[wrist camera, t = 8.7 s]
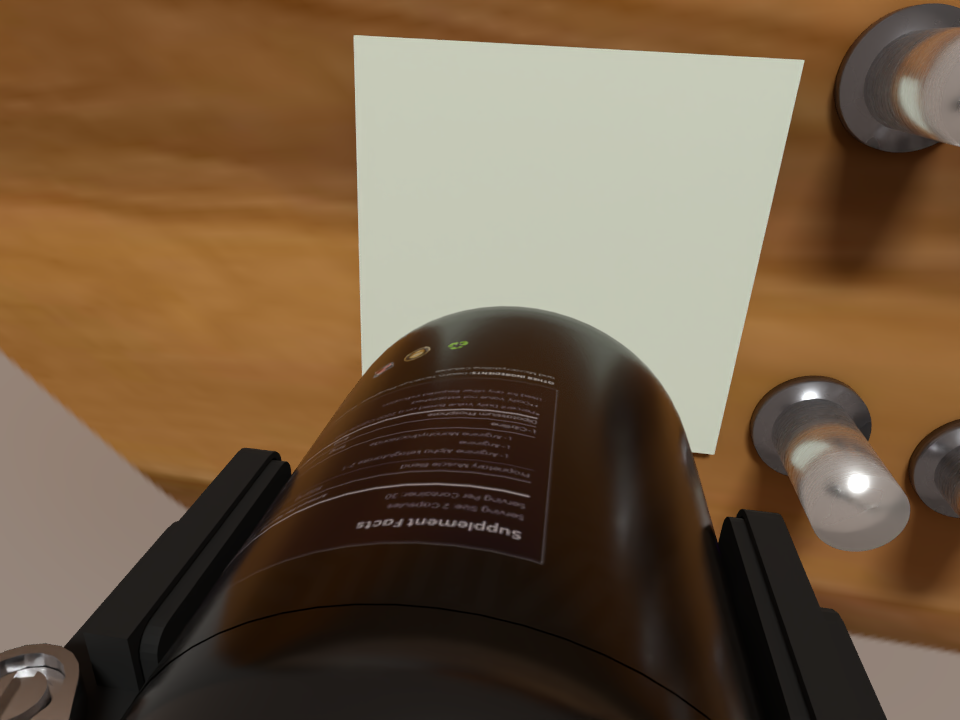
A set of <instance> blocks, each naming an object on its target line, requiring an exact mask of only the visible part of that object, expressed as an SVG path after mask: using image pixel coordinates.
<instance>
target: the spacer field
mask: <svg viewBox="0 0 960 720" xmlns="http://www.w3.org/2000/svg"><path fill="white" fill-rule="evenodd" d="M834 96H835V105H836V110H837V113H838V116H839V118H840V121H841V122H842V124H843V126H844V127H845V129H846V130H847V131H848V132H849V133H850V134H851V135H852V136H853V137H854V138H855V139H857V140H858V141H860V142H861V143H863V144H866V145H868V146H870V147H873V148H876V149H879V150H883V151H888V152H910V151H915V150H920V149H923V148H926V147H929V146H932V145H934V144H936V143H938V142H944V143H947V144H951V145H955V146H959V147H960V9H959V8H957V7H954V6H950V5H946V4H922V5H915V6H909V7H905V8H902V9H899V10H896V11H894V12H891V13H889V14H887V15H885V16H884V17H882V18H880V19H879V20H877V21H876V22H874V23H873V24H871V25H870V26H869V27H868V28H867V29H866V30H864V31H863V32H862V33H861V34H860V36H859V37H858V38H857V39H856V40H855V41H854V43H853V44H852V45H851V47H850V48H849V49H848V51H847V53H846V55H845V56H844V58H843V60H842V63H841V65H840V67H839V70H838V74H837V77H836V82H835V93H834ZM750 432H751V438H752V441H753V443H754V446H755V448H756V450H757V452H758V454H759V456H760V457H761V459H762V460H763V461H764V462H765V463H766V464H767V465H768V466H769V467H771V468H772V469H774V470H775V471H777V472H779V473H782V474H784V475H787V476H789V478H790V481H791V483H792V485H793V487H794V489H795V491H796V493H797V495H798V498H799V500H800V502H801V504H802V506H803V508H804V510H805V513H806V515H807V517H808V519H809V521H810V523H811V525H812V528H813V530H814V532H815V533H816V535H817V536H818V537H819V538H820V539H821V540H822V541H823V542H825V543H826V544H828V545H829V546H832V547H834V548H837V549H840V550H845V551H866V550H871V549H875V548H878V547H880V546H883V545H885V544H887V543H888V542H890V541H892V540H893V539H894V538H896V537H897V536H898V535H899V534H900V533H901V532H902V530H903V529H904V528H905V526H906V524H907V522H908V520H909V516H910V504H909V501H908V498H907V496H906V495H905V493H904V492H903V490H902V489H901V487H900V486H899V485H898V483H897V482H896V480H895V479H894V478H893V476H892V475H891V473H890V472H889V471H888V469H887V468H886V466H885V465H884V464H883V462H882V461H881V459H880V458H879V457H878V455H877V454H876V452H875V451H874V450H873V448H872V447H871V445H870V444H869V443H868V440H869V437H870V434H871V417H870V413H869V411H868V409H867V407H866V405H865V404H864V402H863V401H862V399H861V398H860V397H859V396H858V394H857V393H856V392H855V391H854V390H853V389H852V388H850V387H849V386H848V385H846V384H845V383H843V382H841V381H839V380H836V379H833V378H830V377H824V376H804V377H798V378H794V379H791V380H788V381H786V382H783V383H781V384H780V385H778V386H776V387H775V388H773V389H772V390H770V391H769V392H768V393H767V394H766V395H765V396H764V397H763V398H762V399H761V400H760V402H759V403H758V404H757V406H756V408H755V410H754V412H753V415H752V418H751V423H750ZM909 479H910V482H911V485H912V487H913V488H914V490H915V491H916V493H917V494H918V495H919V497H920V498H921V500H922V501H923V502H924V503H925V504H926V505H927V506H928V507H930V508H931V509H933V510H934V511H936V512H938V513H940V514H943V515H946V516H950V517H955V518H960V419H959V420H955V421H952V422H950V423H947V424H945V425H943V426H941V427H939V428H937V429H936V430H934V431H933V432H931V433H930V434H929V435H927V436H926V437H925V438H924V439H923V440H922V441H921V442H920V444H919V445H918V446H917V448H916V449H915V451H914V452H913V455H912V457H911V459H910V463H909Z"/></svg>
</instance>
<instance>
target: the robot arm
mask: <svg viewBox="0 0 960 720" xmlns="http://www.w3.org/2000/svg"><path fill="white" fill-rule="evenodd" d="M290 477H291V468H290V465H289V463H288V462H285V461H281V457H280V455H279V453H278V452H276V451H268V450H260V449H251V448H242V449H241V450H240V451H239V452H238V453H237V454H236V455H235V456H234V457H233V458H232V460H231V461H230V462H229V463H228V464H227V465H226V467H225V468H224V469H223V470H222V471H221V472H220V474H219V475H218V476H217V477H216V478H215V479H214V481H213V482H212V483H211V484H210V485H209V486H208V488H207V489H206V490H205V491H204V492H203V493H202V494H201V496H200V497H199V498H198V499H197V500H196V501H195V503H194V504H193V505H192V506H191V507H190V508H189V510H188V511H187V512H186V513H185V514H184V515H183V517H182V518H181V519H180V520H179V521H177V522H174V523H173V524H172V525H171V526H170V527H168V528H167V529H166V531H165V532H164V533H163V534H162V535H161V536H160V537H159V539H158V540H157V541H156V542H155V543H154V544H153V546H152V547H151V548H150V549H149V550H148V551H147V553H145V555H144V556H143V557H142V558H141V559H140V560H139V562H138V563H137V564H136V565H135V566H134V567H133V568H132V570H131V571H130V572H129V573H128V574H127V575H126V576H125V578H124V579H123V580H122V581H121V582H120V583H119V584H118V586H117V587H116V588H115V589H114V590H113V592H112V593H111V594H110V595H109V596H108V597H107V598H106V599H105V601H104V602H103V603H102V604H101V605H100V606H99V608H98V609H97V610H96V611H95V612H94V613H93V614H92V616H91V617H90V618H89V619H88V620H87V621H86V622H85V624H84V625H83V626H82V627H81V628H80V629H79V630H78V632H77V633H76V634H75V635H74V636H73V637H72V638H71V640H70V641H69V642H68V643H67V644H66V645H65V646H64V647H62V646H58V645H52V644H47V643H43V644H31V645H24V646H21V647H17V648H14V649H10V650H7V651H4V652H2V653H0V720H122V718H123V717H124V715H125V714H126V712H127V711H128V709H129V708H130V706H131V704H132V703H133V701H134V699H135V698H136V696H137V694H138V693H139V691H140V690H141V689H142V687H143V686H144V684H145V683H146V681H147V680H148V678H149V677H150V676H151V674H152V673H153V671H154V670H155V668H156V667H157V666H158V664H159V663H160V661H161V660H162V658H163V657H164V656H165V654H166V653H167V651H168V650H169V649H170V647H171V646H172V644H173V643H174V641H175V640H176V639H177V637H178V636H179V634H180V633H181V631H182V630H183V629H184V627H185V626H186V624H187V623H188V621H189V620H190V619H191V617H192V616H193V614H194V613H195V612H196V610H197V609H198V607H199V606H200V604H201V603H202V602H203V600H204V599H205V597H206V596H207V594H208V593H209V592H210V590H211V589H212V587H213V586H214V585H215V583H216V582H217V580H218V579H219V577H220V576H221V575H222V573H223V572H224V570H225V569H226V568H227V566H228V565H229V563H230V562H231V560H232V559H233V558H234V556H235V555H236V553H237V552H238V550H239V549H240V548H241V546H242V545H243V543H244V542H245V541H246V539H247V538H248V536H249V535H250V533H251V532H252V531H253V529H254V528H255V526H256V525H257V523H258V522H259V521H260V519H261V518H262V516H263V515H264V514H265V512H266V511H267V509H268V508H269V506H270V505H271V504H272V502H273V501H274V499H275V498H276V497H277V495H278V494H279V492H280V491H281V489H282V488H283V487H284V485H285V484H286V482H287V481H288V479H289V478H290ZM718 546H719V549H720V553H721V556H722V560H723V563H724V567H725V571H726V574H727V578H728V581H729V585H730V588H731V592H732V596H733V599H734V603H735V606H736V610H737V613H738V617H739V620H740V624H741V628H742V631H743V635H744V638H745V642H746V645H747V649H748V652H749V656H750V660H751V663H752V667H753V670H754V674H755V677H756V681H757V684H758V688H759V692H760V695H761V699H762V702H763V706H764V709H765V713H766V717H767V720H887V718H886V716H885V714H884V712H883V710H882V707H881V705H880V703H879V701H878V698H877V696H876V694H875V692H874V689H873V687H872V685H871V683H870V680H869V678H868V676H867V674H866V671H865V669H864V667H863V665H862V662H861V660H860V658H859V656H858V653H857V651H856V649H855V647H854V645H853V642H852V640H851V638H850V636H849V633H848V631H847V629H846V627H845V624H844V622H843V621H842V619H841V617H840V615H839V614H838V613H837V612H836V611H834V610H833V609H828V608H821V607H820V606H819V604H818V601H817V599H816V597H815V594H814V592H813V589H812V587H811V585H810V582H809V580H808V577H807V575H806V573H805V570H804V568H803V565H802V563H801V561H800V558H799V556H798V553H797V551H796V549H795V546H794V544H793V541H792V539H791V537H790V534H789V532H788V529H787V527H786V525H785V522H784V520H783V518H782V516H781V515H780V514H778V513H770V512H762V511H754V510H746V509H741V510H740V511H739V512H738V514H737V516H736V518H734V517H726V518H725V520H724V522H723V526H722V530H721V534H720V538H719V542H718Z"/></svg>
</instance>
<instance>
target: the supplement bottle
mask: <svg viewBox="0 0 960 720" xmlns="http://www.w3.org/2000/svg"><path fill="white" fill-rule="evenodd" d="M122 720H767V717H766V713H765V709H764V706H763V702H762V699H761V695H760V692H759V688H758V684H757V681H756V677H755V674H754V670H753V667H752V663H751V660H750V656H749V652H748V649H747V645H746V642H745V638H744V635H743V631H742V628H741V624H740V620H739V617H738V613H737V610H736V606H735V603H734V599H733V596H732V592H731V588H730V585H729V581H728V578H727V574H726V571H725V567H724V563H723V560H722V556H721V553H720V549H719V546H718V542H717V539H716V535H715V531H714V528H713V524H712V521H711V517H710V514H709V510H708V507H707V503H706V499H705V496H704V492H703V489H702V485H701V482H700V478H699V475H698V471H697V467H696V464H695V460H694V457H693V454H692V451H691V448H690V445H689V442H688V438H687V435H686V432H685V429H684V427H683V424H682V421H681V419H680V416H679V414H678V412H677V410H676V408H675V406H674V404H673V402H672V400H671V398H670V396H669V395H668V393H667V391H666V390H665V388H664V387H663V385H662V384H661V382H660V381H659V380H658V379H657V377H656V376H655V375H654V374H653V372H652V371H651V370H650V369H649V368H648V367H647V366H646V365H645V364H644V363H643V362H642V361H641V360H640V359H639V358H638V357H637V356H636V355H635V354H634V353H632V352H631V351H630V350H629V349H628V348H626V347H625V346H624V345H623V344H621V343H620V342H618V341H617V340H615V339H614V338H612V337H611V336H609V335H607V334H606V333H604V332H602V331H600V330H599V329H597V328H595V327H593V326H591V325H589V324H587V323H584V322H582V321H579V320H577V319H574V318H572V317H569V316H565V315H562V314H559V313H556V312H551V311H546V310H542V309H537V308H528V307H519V306H494V307H481V308H476V309H470V310H464V311H460V312H457V313H453V314H449V315H446V316H443V317H441V318H438V319H435V320H433V321H430V322H428V323H426V324H424V325H422V326H420V327H418V328H416V329H414V330H412V331H411V332H409V333H408V334H406V335H405V336H403V337H402V338H400V339H399V340H398V341H396V342H395V343H394V344H393V345H391V346H390V347H389V348H388V349H387V350H386V351H385V352H384V353H383V354H382V355H381V356H380V357H379V358H378V359H377V360H376V361H375V362H374V363H373V364H372V365H371V366H370V367H369V369H368V370H367V371H366V372H365V374H364V375H363V376H362V377H361V379H360V380H359V381H358V383H357V384H356V385H355V387H354V388H353V389H352V391H351V392H350V393H349V394H348V396H347V397H346V399H345V400H344V401H343V403H342V404H341V406H340V407H339V408H338V410H337V411H336V413H335V414H334V416H333V417H332V418H331V420H330V421H329V423H328V424H327V426H326V427H325V428H324V430H323V431H322V433H321V434H320V435H319V437H318V438H317V440H316V441H315V443H314V444H313V445H312V447H311V448H310V450H309V451H308V452H307V454H306V455H305V457H304V458H303V460H302V461H301V462H300V464H299V465H298V467H297V468H296V470H295V471H294V472H293V474H292V475H291V477H290V478H289V479H288V481H287V482H286V484H285V485H284V487H283V488H282V489H281V491H280V492H279V494H278V495H277V497H276V498H275V499H274V501H273V502H272V504H271V505H270V506H269V508H268V509H267V511H266V512H265V514H264V515H263V516H262V518H261V519H260V521H259V522H258V523H257V525H256V526H255V528H254V529H253V531H252V532H251V533H250V535H249V536H248V538H247V539H246V541H245V542H244V543H243V545H242V546H241V548H240V549H239V550H238V552H237V553H236V555H235V556H234V558H233V559H232V560H231V562H230V563H229V565H228V566H227V568H226V569H225V570H224V572H223V573H222V575H221V576H220V577H219V579H218V580H217V582H216V583H215V585H214V586H213V587H212V589H211V590H210V592H209V593H208V594H207V596H206V597H205V599H204V600H203V602H202V603H201V604H200V606H199V607H198V609H197V610H196V612H195V613H194V614H193V616H192V617H191V619H190V620H189V621H188V623H187V624H186V626H185V627H184V629H183V630H182V631H181V633H180V634H179V636H178V637H177V639H176V640H175V641H174V643H173V644H172V646H171V647H170V649H169V650H168V651H167V653H166V654H165V656H164V657H163V658H162V660H161V661H160V663H159V664H158V666H157V667H156V668H155V670H154V671H153V673H152V674H151V676H150V677H149V678H148V680H147V681H146V683H145V684H144V686H143V687H142V689H141V690H140V691H139V693H138V694H137V696H136V698H135V699H134V701H133V703H132V704H131V706H130V708H129V709H128V711H127V712H126V714H125V715H124V717H123V718H122Z"/></svg>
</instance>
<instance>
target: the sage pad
mask: <svg viewBox="0 0 960 720" xmlns="http://www.w3.org/2000/svg"><path fill="white" fill-rule="evenodd" d="M803 64H804V60H793V59H775V58H757V57H739V56H720V55H702V54H684V53H666V52H648V51H630V50H612V49H594V48H576V47H558V46H539V45H521V44H503V43H485V42H467V41H449V40H431V39H413V38H395V37H377V36H359V35H354V67H355V107H356V147H357V187H358V227H359V267H360V307H361V348H362V376H363V375H364V374H365V372H366V371H367V370H368V369H369V367H370V366H371V365H372V364H373V363H374V362H375V361H376V360H377V359H378V358H379V357H380V356H381V355H382V354H383V353H384V352H385V351H386V350H387V349H388V348H389V347H390V346H391V345H393V344H394V343H395V342H396V341H398V340H399V339H400V338H402V337H403V336H405V335H406V334H408V333H409V332H411V331H412V330H414V329H416V328H418V327H420V326H422V325H424V324H426V323H428V322H430V321H433V320H435V319H438V318H441V317H443V316H446V315H449V314H453V313H457V312H460V311H464V310H470V309H476V308H481V307H494V306H519V307H528V308H537V309H542V310H546V311H551V312H556V313H559V314H562V315H565V316H569V317H572V318H574V319H577V320H579V321H582V322H584V323H587V324H589V325H591V326H593V327H595V328H597V329H599V330H600V331H602V332H604V333H606V334H607V335H609V336H611V337H612V338H614V339H615V340H617V341H618V342H620V343H621V344H623V345H624V346H625V347H626V348H628V349H629V350H630V351H631V352H632V353H634V354H635V355H636V356H637V357H638V358H639V359H640V360H641V361H642V362H643V363H644V364H645V365H646V366H647V367H648V368H649V369H650V370H651V371H652V372H653V374H654V375H655V376H656V377H657V379H658V380H659V381H660V382H661V384H662V385H663V387H664V388H665V390H666V391H667V393H668V395H669V396H670V398H671V400H672V402H673V404H674V406H675V408H676V410H677V412H678V414H679V416H680V419H681V421H682V424H683V427H684V429H685V432H686V435H687V438H688V442H689V445H690V448H691V451H692V452H696V453H704V454H713V455H714V453H715V449H716V444H717V440H718V436H719V431H720V427H721V422H722V418H723V414H724V409H725V405H726V401H727V396H728V392H729V387H730V383H731V379H732V374H733V370H734V366H735V361H736V357H737V353H738V348H739V344H740V339H741V335H742V331H743V326H744V322H745V318H746V313H747V309H748V305H749V300H750V296H751V291H752V287H753V283H754V278H755V274H756V270H757V265H758V261H759V257H760V252H761V248H762V243H763V239H764V235H765V230H766V226H767V222H768V217H769V213H770V208H771V204H772V200H773V195H774V191H775V187H776V182H777V178H778V174H779V169H780V165H781V160H782V156H783V152H784V147H785V143H786V139H787V134H788V130H789V126H790V121H791V117H792V112H793V108H794V104H795V99H796V95H797V91H798V86H799V82H800V78H801V73H802V69H803Z"/></svg>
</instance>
